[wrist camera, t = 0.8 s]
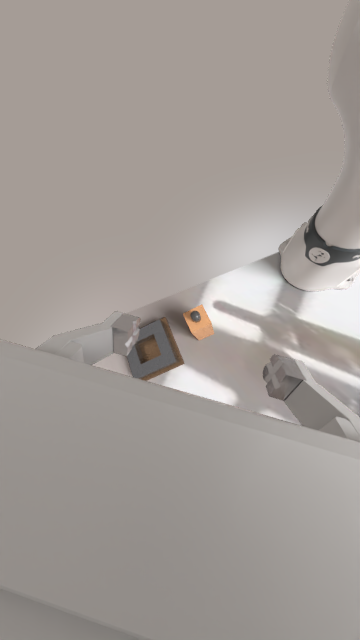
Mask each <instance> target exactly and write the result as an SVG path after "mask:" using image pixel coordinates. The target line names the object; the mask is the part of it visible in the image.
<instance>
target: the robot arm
mask: <svg viewBox="0 0 360 640" xmlns="http://www.w3.org/2000/svg"><path fill="white" fill-rule="evenodd" d="M328 92H329V96H330V99H331V101H332V102H333V104H334V106H335V107H336V109H337V111H338V113H339V116H340V119H341V122H342V126H343V130H344V138H345V152H344V160H343V165H342V168H341V171H340V174H339V176H338V178H337V180H336V183H335V184H334V186H333V188H332V190H331V192H330V194H329V195H328V197H327V199H326V201H325V202H324V204H323V205H322V206H321V207H320V208H319V209H318V210H317V211H316V213H315V214H314V215H313V216H312V217H311V218H310V219H309V221H308V223H304V224H302V226H301V228H298V229H297V230H296V232H295V233H294V235H293V236H292V237H291V238H289V239H288V240H286V241H285V242H283V243H282V244H281V245H280V247H279V252H280V255H281V271H282V274H283V276H284V277H285V279H286V280H287V281H288V282H289V283H290V284H292V285H293V286H295V287H297V288H299V289H302V290H306V291H324V290H328V289H339V290H346V289H348V288H349V287H351V286H352V284H353V283H354V281H355V279H356V278H357V276H358V275H359V273H360V0H349V2H348V4H347V6H346V9H345V11H344V13H343V16H342V18H341V21H340V23H339V26H338V29H337V33H336V35H335V39H334V42H333V46H332V50H331V55H330V60H329V67H328ZM347 280H348V281H347ZM139 325H140V318H139V317H136V316H132V315H129V314H125V313H122V312H118V311H115V312H114V313H113V314H111V315H110V316H109V317H108V318H107V319H106V320H105V321H104V322H103V323H102V324H95V325H92V326H88V327H84V328H80V329H77V330H73V331H70V332H66V333H62V334H58V335H55V336H52V337H51V338H50V339H48V340H47V341H46V342H44V343H43V344H41V345H40V346H39V347H37V348H36V349H33V348H30V347H26V346H23V345H19V344H16V343H12V342H8V341H5V340H2V339H0V640H360V417H359V416H358V415H356V414H355V413H354V412H353V411H351V410H350V409H349V408H348V407H346V406H345V405H344V404H343V403H342V402H340V401H339V400H338V399H337V398H335V397H334V396H333V395H332V394H331V393H329V392H328V391H327V390H326V389H324V388H323V387H322V386H321V385H319V384H316V382H315V380H314V379H313V377H312V376H311V374H310V372H309V371H308V369H307V367H306V366H305V364H304V363H303V362H302V361H300V360H296V359H291V358H287V357H283V356H279V355H275V354H274V355H273V356H272V357H271V358H270V361H271V362H270V363H268V364H266V366H265V367H264V370H263V378H264V380H265V381H266V383H267V385H266V388H267V391H268V395H269V396H270V397H273V398H276V399H279V400H283V401H284V402H285V404H286V405H287V406H288V408H289V409H290V410H291V411H292V413H293V414H294V415H295V417H296V418H297V419H298V420H299V422H300V423H301V424H302V426H301V425H297V424H294V423H290V422H287V421H283V420H280V419H276V418H273V417H270V416H266V415H263V414H259V413H256V412H252V411H249V410H245V409H242V408H239V407H235V406H232V405H228V404H225V403H221V402H218V401H214V400H211V399H207V398H204V397H200V396H197V395H193V394H190V393H186V392H183V391H179V390H176V389H172V388H169V387H165V386H162V385H158V384H155V383H151V382H148V381H144V380H141V379H137V378H134V377H130V376H127V375H123V374H120V373H117V372H113V371H110V370H106V369H103V368H99V367H96V366H92V365H93V364H94V363H96V362H98V361H100V360H102V359H104V358H105V357H107V356H109V355H111V354H113V353H116V354H120V355H124V356H128V354H129V352H130V351H131V349H132V345H134V344H135V343H136V341H137V339H138V337H139V331H140V329H139V328H138V326H139Z"/></svg>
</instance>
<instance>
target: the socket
mask: <svg viewBox="0 0 360 640" xmlns="http://www.w3.org/2000/svg"><path fill="white" fill-rule="evenodd" d="M127 358H128V362H129V365H130V368H131V372H132V375H133V377H134V378H137V379H141V380H144V381H147V380H149V379H151V378H154V377H156V376H158V375H160V374H163V373H165V372H167V371H169V370H171V369H174V368H176V367H178V366H180V365H183V364H184V361H183V359H182V356H181V354H180V351H179V349H178V347H177V344H176V342H175V339H174V337H173V334H172V332H171V329H170V327H169V325H168V322H167V320H166V318H165V317H164V318H162V319H159V320H157V321H155V322H153V323H151V324H149V325H147V326H145V327H143V328H141V329H140V331H139V337H138V339H137V341H136V343H135V344H134V345H132V349H131V351H130V352H129V354H128V356H127Z"/></svg>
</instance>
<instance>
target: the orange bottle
mask: <svg viewBox="0 0 360 640" xmlns="http://www.w3.org/2000/svg"><path fill="white" fill-rule="evenodd" d="M183 315H184V317H185V320H186V322H187V324H188V326H189V329H190V331H191V333H192V334H193V335H194V336H195V337H196V338H197V339H198V340H201V339H203V338H205V337H208V336H210V335H212V334H214V331H213V327H212V324H211V321H210V319H209V317H208V315H207V313H206V311H205V309H204V307H203V305H200V306H198V307H196V308H194V309H192V310H190V311H188V312H186V313H183Z"/></svg>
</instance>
